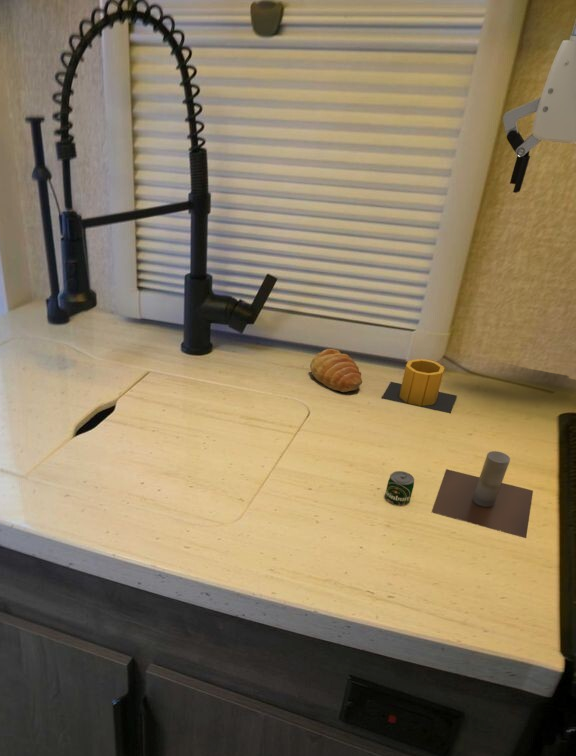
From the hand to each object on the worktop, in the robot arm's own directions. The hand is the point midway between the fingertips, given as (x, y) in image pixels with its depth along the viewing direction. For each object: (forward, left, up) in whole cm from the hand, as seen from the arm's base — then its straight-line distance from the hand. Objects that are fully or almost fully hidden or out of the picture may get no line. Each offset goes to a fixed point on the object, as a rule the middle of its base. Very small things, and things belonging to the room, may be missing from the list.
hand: (557, 194), depth 83 cm
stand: (-2, +31, -28) cm, 42 cm away
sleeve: (+10, +6, -28) cm, 30 cm away
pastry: (+23, +5, -28) cm, 37 cm away
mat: (+10, +6, -28) cm, 31 cm away
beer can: (+7, +35, -28) cm, 46 cm away
